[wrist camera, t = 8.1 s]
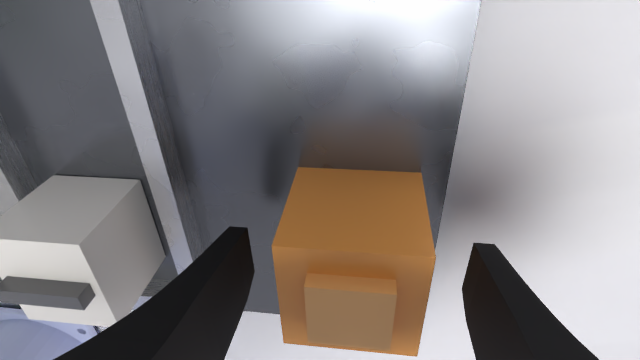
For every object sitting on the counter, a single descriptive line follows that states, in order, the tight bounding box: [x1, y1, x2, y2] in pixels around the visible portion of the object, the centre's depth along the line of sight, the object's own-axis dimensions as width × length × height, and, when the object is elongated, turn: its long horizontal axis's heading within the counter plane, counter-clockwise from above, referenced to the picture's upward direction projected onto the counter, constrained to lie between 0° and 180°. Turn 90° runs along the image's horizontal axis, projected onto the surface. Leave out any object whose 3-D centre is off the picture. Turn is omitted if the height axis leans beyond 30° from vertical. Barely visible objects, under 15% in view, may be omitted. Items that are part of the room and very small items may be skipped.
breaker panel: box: [0, 0, 481, 314], centre depth 14 cm, size 17×24×2 cm
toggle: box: [0, 175, 166, 327], centre depth 14 cm, size 4×4×4 cm
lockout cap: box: [272, 167, 436, 356], centre depth 12 cm, size 4×4×4 cm
